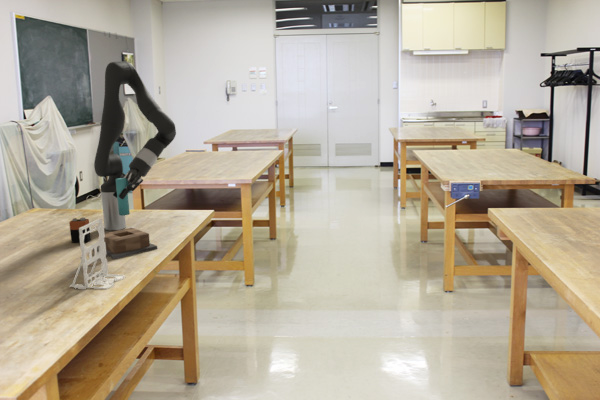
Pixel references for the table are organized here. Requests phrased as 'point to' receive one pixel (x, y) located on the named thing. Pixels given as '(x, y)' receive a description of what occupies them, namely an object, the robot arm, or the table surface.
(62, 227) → the table surface
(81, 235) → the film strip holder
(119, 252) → the socket block
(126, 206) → the peg
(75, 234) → the battery
